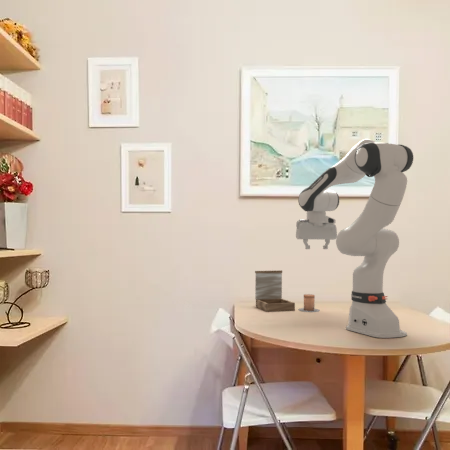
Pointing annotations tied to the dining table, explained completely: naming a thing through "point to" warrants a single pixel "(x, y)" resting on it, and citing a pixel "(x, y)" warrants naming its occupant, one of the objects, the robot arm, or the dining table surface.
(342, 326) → the dining table surface
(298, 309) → the grey flat disc
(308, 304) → the orange cylinder
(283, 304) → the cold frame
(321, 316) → the dining table surface
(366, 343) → the dining table surface
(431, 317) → the dining table surface
